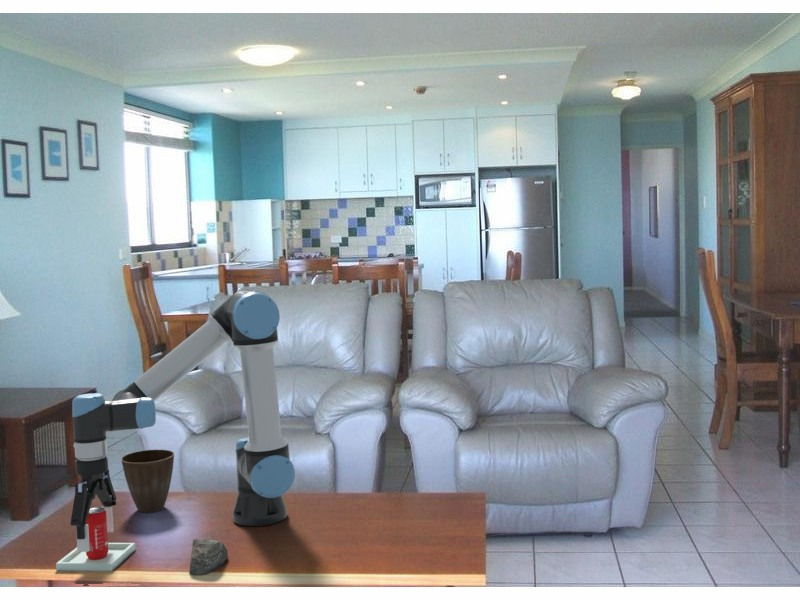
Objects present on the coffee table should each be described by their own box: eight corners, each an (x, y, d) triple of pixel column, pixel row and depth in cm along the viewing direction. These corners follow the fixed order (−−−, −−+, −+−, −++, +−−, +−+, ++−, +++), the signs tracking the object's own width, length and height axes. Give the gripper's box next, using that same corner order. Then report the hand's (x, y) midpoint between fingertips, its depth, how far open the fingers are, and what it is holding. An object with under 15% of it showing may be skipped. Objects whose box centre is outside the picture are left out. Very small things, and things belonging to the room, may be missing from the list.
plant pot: (168, 516, 246) (165, 461, 245) (117, 518, 246) (113, 463, 245) (182, 500, 261) (179, 448, 260) (133, 502, 261) (130, 450, 260)
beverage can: (101, 561, 211) (98, 513, 210) (82, 560, 212) (79, 512, 211) (112, 553, 216) (109, 507, 215) (93, 552, 217) (91, 506, 216)
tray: (135, 549, 220) (135, 542, 220) (112, 570, 206) (112, 563, 206) (83, 549, 221) (82, 542, 221) (56, 570, 208) (56, 563, 207)
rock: (194, 555, 215) (193, 530, 214) (229, 553, 216) (228, 528, 215) (187, 576, 202) (186, 549, 201) (225, 574, 203) (224, 547, 202)
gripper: (98, 444, 225) (103, 524, 226) (51, 470, 200) (57, 559, 201) (126, 444, 224) (131, 524, 226) (82, 470, 199) (87, 560, 201)
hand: (96, 541), depth 214 cm, fingers open, 13 cm apart
